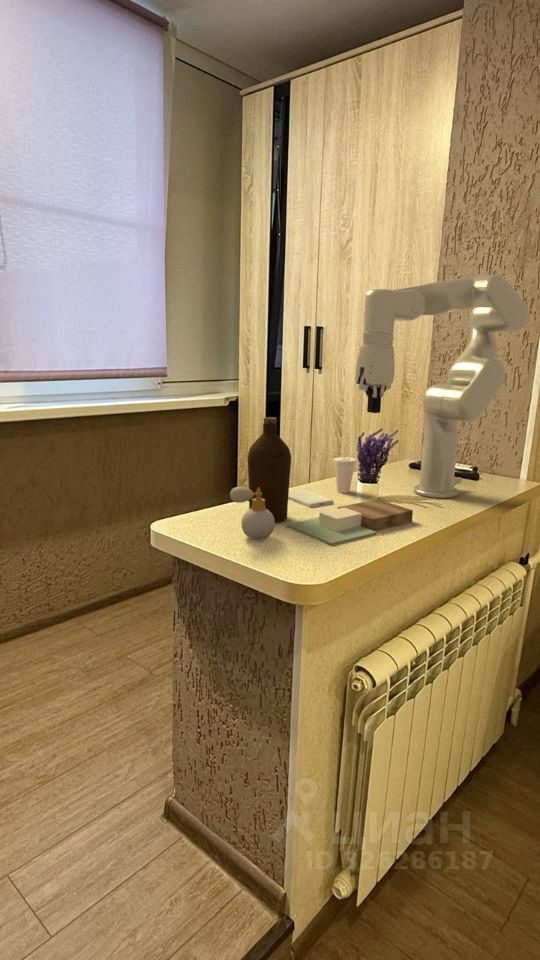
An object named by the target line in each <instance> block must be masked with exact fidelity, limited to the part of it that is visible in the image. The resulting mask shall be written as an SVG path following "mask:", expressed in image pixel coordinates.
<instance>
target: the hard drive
mask: <svg viewBox="0 0 540 960" xmlns="http://www.w3.org/2000/svg"><path fill="white" fill-rule="evenodd" d="M289 499H290V500H289ZM288 500H289V501H291V500H292V502H294V503H296V504H299V505H302V506H305V507H307V508H309V509H311V508H316V507H322V506H327V505H332V504H334V500H333V499H330V498H328V497H325V496H321V495H319V494H316V493H314V492H311V491H309V490H305V489H303V490H297V491H290V492H289V493H288Z"/></svg>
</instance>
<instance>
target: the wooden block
mask: <svg viewBox="0 0 540 960" xmlns="http://www.w3.org/2000/svg"><path fill="white" fill-rule="evenodd" d="M344 507H345V508H348V509H350V510H353V511H356V512H359V513H362V520H361V526H362V527H365V528H367V529H370V530H373V531H376V532H377V531H381V530H384V529H388V528H392V527H397V526H401V525H404V524H409V523H412V522H413V514H414V512H413V511H414V510H413V509H410V508H407V507H403V506H402V505H398V504H394V503H390V502H387V501H384V500H382V499H372V500H371V499H370V500H367V501H362V502H356V503H352V504H347V505H342V506H338V507H337V509H339V508H344Z"/></svg>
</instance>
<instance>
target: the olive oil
mask: <svg viewBox="0 0 540 960" xmlns="http://www.w3.org/2000/svg"><path fill="white" fill-rule="evenodd" d="M277 422H278V419H277V417H275V416H274V417H273V416H265V417H263V423H262V433H261V435H260V436H259V437H258V438H257V439H256V440H255V441H254V442H253V443H252V444H251V446H250V447H249V450H248V454H247V457H246V458H247V477H248V478H247V481H248V489H250V490H251V491H252V492H254V493H256V492H257V489H258V488H260V490H261V491H260V492H262V495H261V496H260V497H261V498H263V499H265V507H266V509H267V510H269V511H270V512H271V513H272V515H273V517H274V519H275V524H278V523H281V522H284V521H287V519H288V510H289V509H288V507H289V499H288V493H289V491H290V489H289V488H290V479H291V466H292V454H291V451H290V449H289V447H288V445H287V444H286V442H285V441H284V440H283V439H282V438H281V437H280V436H279V434H278V433H277V432H278V424H277ZM256 497H257V496H256V495H254V496H253V497H252V498H251V499H250V500H248V501H247V502H248V510H249V509H251V507H252V499H254V498H256Z"/></svg>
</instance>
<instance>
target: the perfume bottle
mask: <svg viewBox="0 0 540 960" xmlns="http://www.w3.org/2000/svg"><path fill="white" fill-rule="evenodd" d="M260 491H261V490H260V488H258V489H257V492H256V493H254V492H252V491H251V490H250V489H249V487H244V486H236V487H233V488H232V489H231V490H230V493H229V497H230V500H231V501H232V502H235V503H237V504H240V503H246V502H249V501H248V500H250V499H251V498H252V497H253V496H254V495H256V496H257V497H256V498H254V499H252V507H251V509H249V508H248V510H246V512H245V513H244V514H243V515H242V517H241V530H242V531H243V533H244V535H245V536H246V537H248V539H251V540H253V541H254V540H255V541H261V540H265V539H268V538H269V537H270V536H271V535H272V533H273V532H274V530H275V526H276V523H275V519H274V517H273V515H272V513H271V512H270V511H269V510H267V509H266V507H265V499H263V498H261V497H260V496H261V495H262V492H260Z"/></svg>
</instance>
